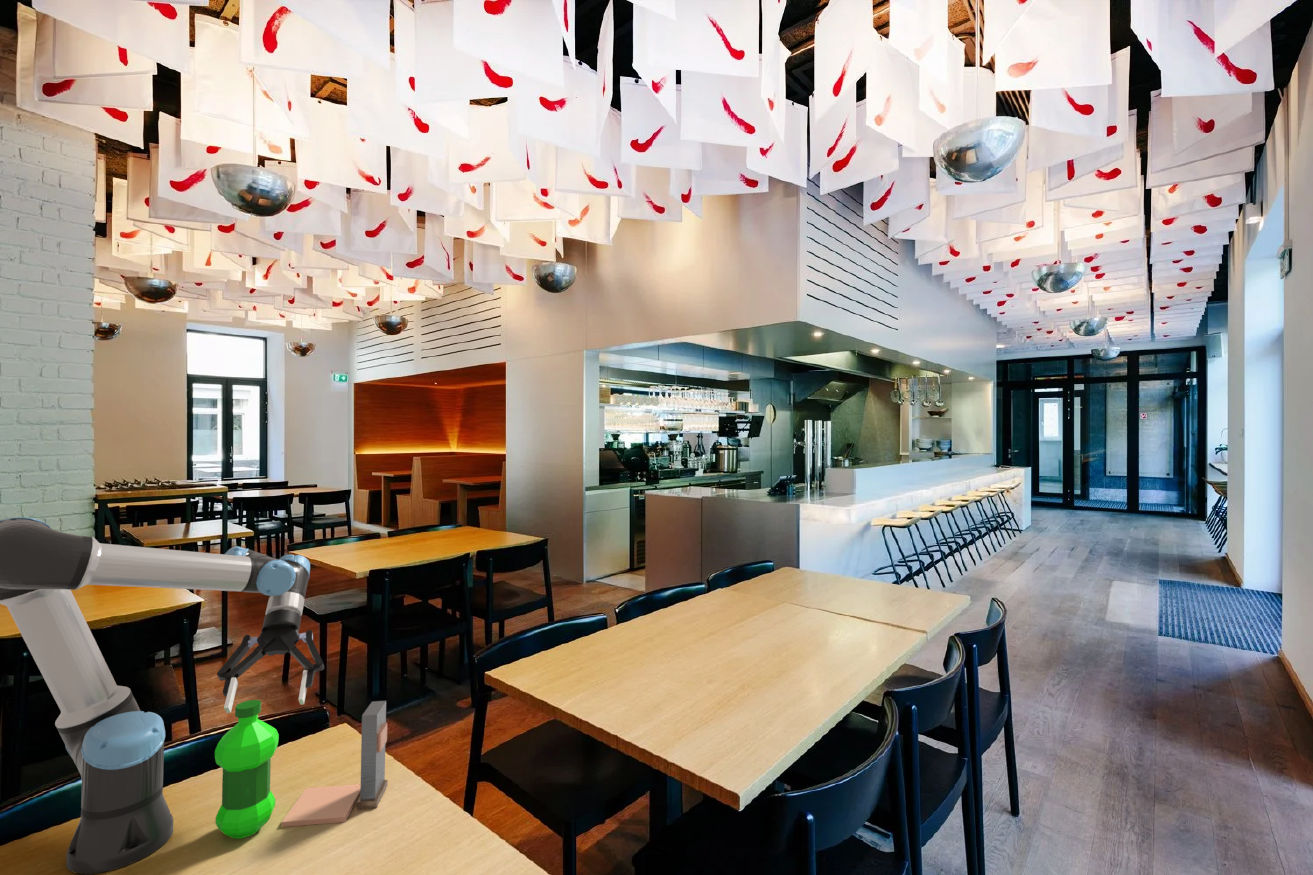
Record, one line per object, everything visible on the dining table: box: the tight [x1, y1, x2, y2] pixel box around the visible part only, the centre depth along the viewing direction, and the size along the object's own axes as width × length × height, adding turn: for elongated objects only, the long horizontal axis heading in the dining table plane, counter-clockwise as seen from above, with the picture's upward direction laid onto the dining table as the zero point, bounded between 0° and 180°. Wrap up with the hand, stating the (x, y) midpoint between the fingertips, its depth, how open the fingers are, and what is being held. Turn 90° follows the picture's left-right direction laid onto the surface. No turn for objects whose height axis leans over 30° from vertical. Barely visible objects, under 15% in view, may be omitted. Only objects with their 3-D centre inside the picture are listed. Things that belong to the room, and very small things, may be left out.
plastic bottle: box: [214, 699, 280, 839], centre depth 119 cm, size 10×10×25 cm
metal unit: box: [356, 700, 389, 810], centre depth 131 cm, size 4×8×20 cm, turn 10°
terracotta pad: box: [280, 783, 361, 828], centre depth 127 cm, size 12×12×1 cm
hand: (264, 706), depth 128 cm, fingers open, 13 cm apart
